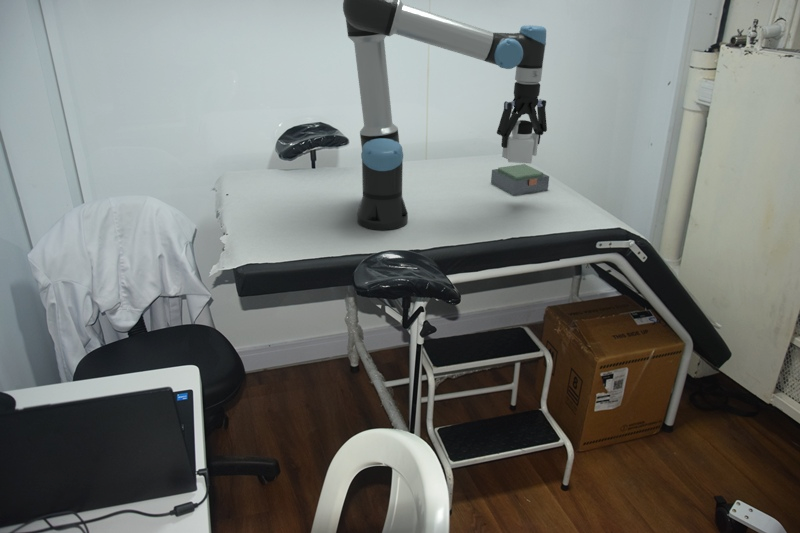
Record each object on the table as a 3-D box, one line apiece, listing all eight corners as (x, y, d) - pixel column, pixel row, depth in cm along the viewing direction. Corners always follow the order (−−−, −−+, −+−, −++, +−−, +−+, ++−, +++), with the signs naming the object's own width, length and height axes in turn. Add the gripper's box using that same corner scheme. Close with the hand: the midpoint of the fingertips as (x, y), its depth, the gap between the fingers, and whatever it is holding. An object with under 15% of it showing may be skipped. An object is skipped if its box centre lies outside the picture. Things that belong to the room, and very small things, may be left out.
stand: (514, 196, 204) (516, 179, 202) (490, 183, 216) (492, 167, 214) (548, 190, 210) (550, 174, 207) (523, 178, 222) (525, 162, 219)
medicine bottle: (529, 157, 194) (534, 119, 189) (531, 163, 188) (536, 124, 182) (506, 156, 195) (510, 118, 189) (508, 162, 188) (512, 123, 183)
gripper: (503, 86, 173) (495, 163, 183) (565, 82, 182) (555, 155, 192) (488, 81, 179) (482, 156, 189) (550, 78, 188) (541, 149, 198)
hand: (519, 156), depth 191 cm, fingers closed on medicine bottle, 9 cm apart
